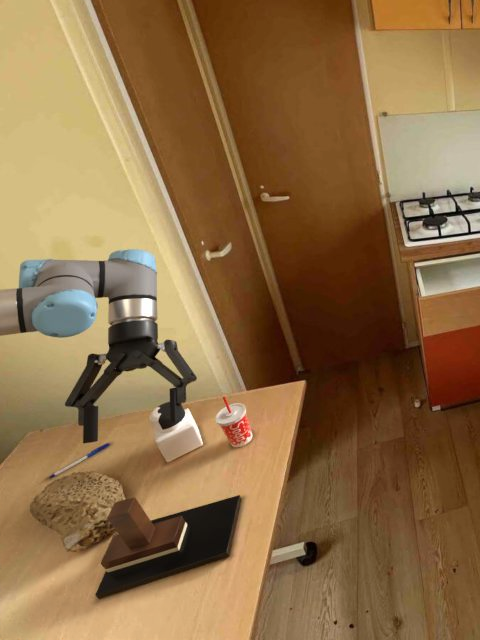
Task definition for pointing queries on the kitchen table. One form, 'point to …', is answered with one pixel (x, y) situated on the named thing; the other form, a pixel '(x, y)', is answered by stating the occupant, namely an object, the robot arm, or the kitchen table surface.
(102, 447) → the ballpoint pen
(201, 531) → the panel
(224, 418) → the beverage cup
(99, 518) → the sponge
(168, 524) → the brown block
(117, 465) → the kitchen table surface
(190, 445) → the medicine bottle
